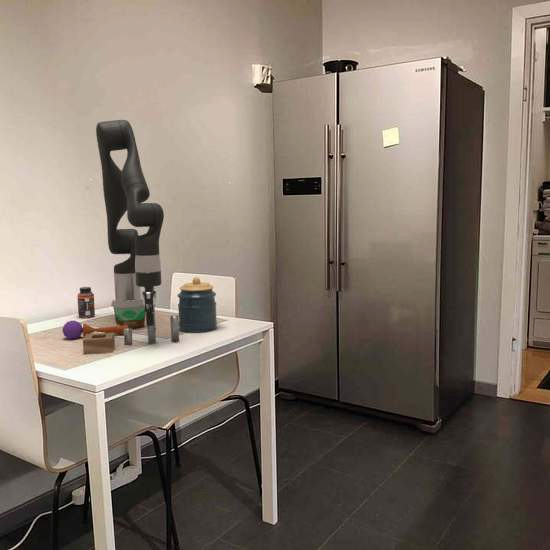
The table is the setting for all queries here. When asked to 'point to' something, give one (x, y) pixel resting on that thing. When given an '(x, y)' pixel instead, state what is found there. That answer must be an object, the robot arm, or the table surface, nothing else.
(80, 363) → the table surface
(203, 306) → the canister
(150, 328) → the long pin
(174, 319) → the medium pin
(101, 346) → the hole block
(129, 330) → the short pin
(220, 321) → the table surface
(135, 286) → the robot arm
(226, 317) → the table surface
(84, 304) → the supplement bottle
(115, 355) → the table surface
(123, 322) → the food container
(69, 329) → the kendama
